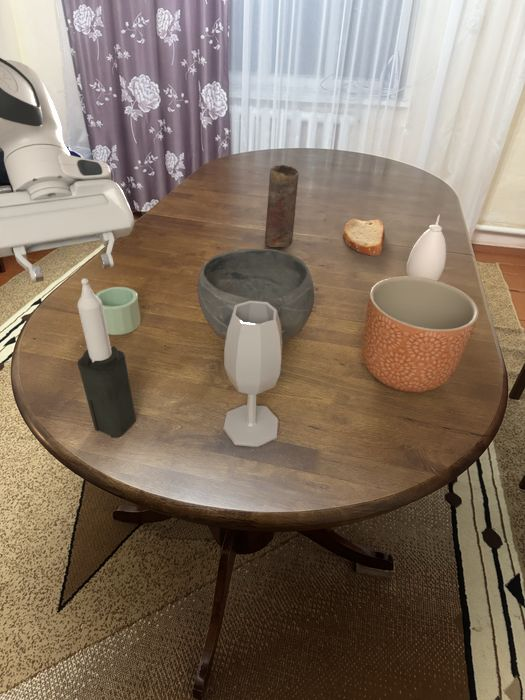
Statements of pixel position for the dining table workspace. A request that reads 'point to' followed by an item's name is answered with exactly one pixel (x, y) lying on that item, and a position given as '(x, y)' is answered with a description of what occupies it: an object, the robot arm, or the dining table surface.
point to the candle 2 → (281, 206)
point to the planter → (416, 332)
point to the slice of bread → (364, 236)
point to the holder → (120, 309)
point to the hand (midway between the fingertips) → (74, 273)
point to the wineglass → (252, 370)
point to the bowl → (256, 287)
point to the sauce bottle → (428, 254)
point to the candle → (103, 370)
